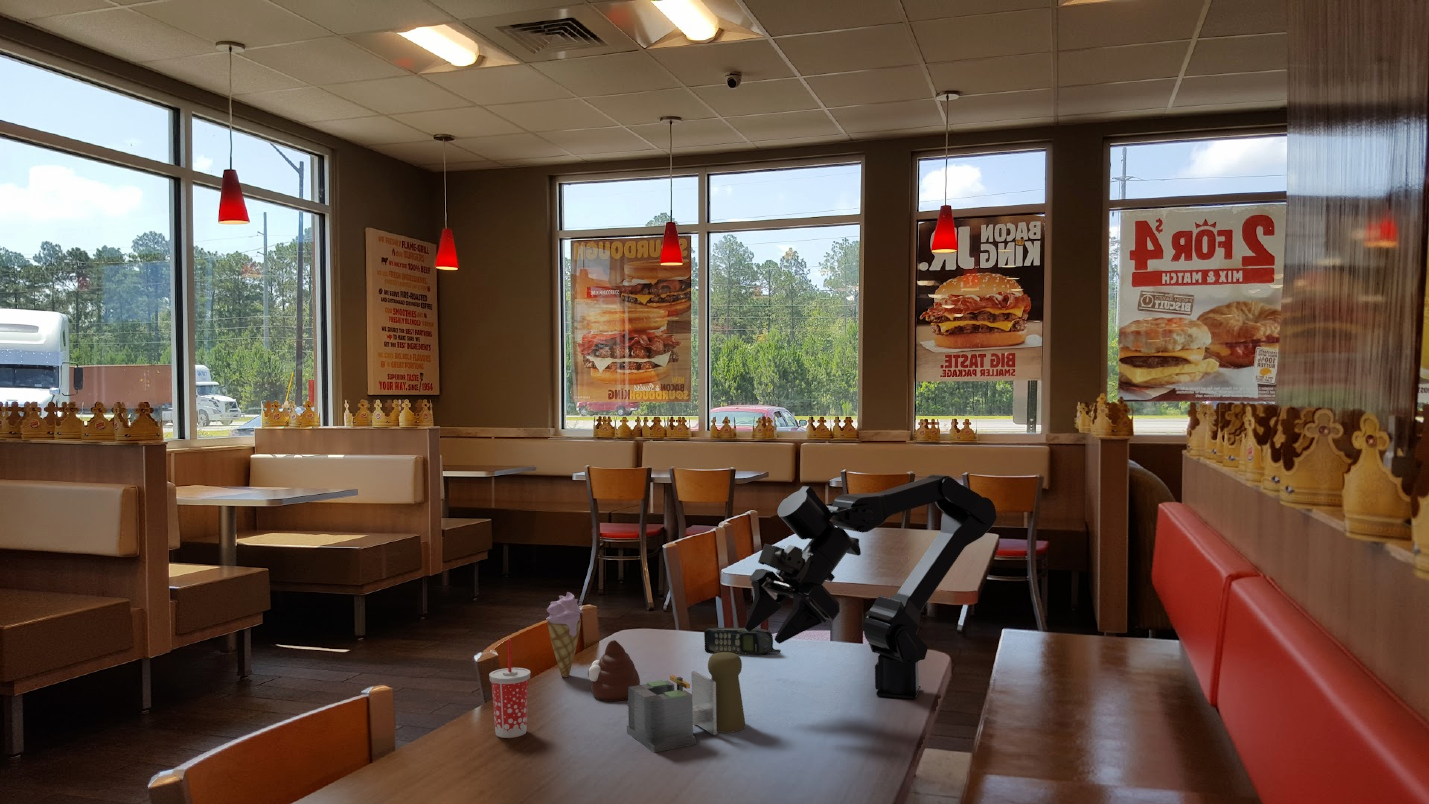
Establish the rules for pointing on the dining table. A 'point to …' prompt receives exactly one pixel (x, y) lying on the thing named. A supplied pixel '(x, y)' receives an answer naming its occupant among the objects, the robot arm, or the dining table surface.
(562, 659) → the ice cream cone
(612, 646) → the poop emoji
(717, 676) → the cork
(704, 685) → the plunger
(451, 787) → the dining table surface
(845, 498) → the robot arm
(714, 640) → the mobile phone
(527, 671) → the beverage cup
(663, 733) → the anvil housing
